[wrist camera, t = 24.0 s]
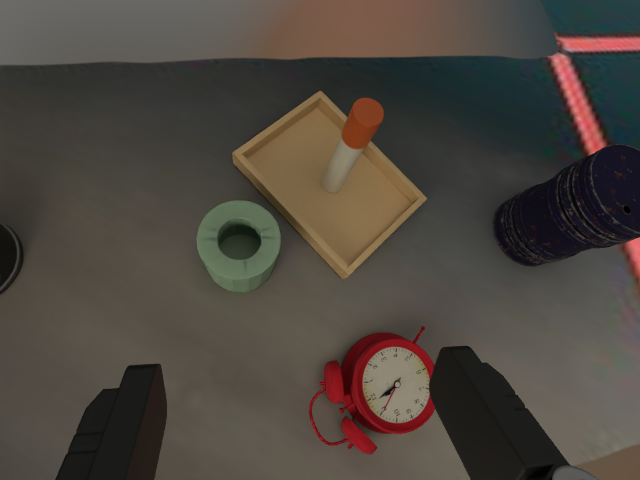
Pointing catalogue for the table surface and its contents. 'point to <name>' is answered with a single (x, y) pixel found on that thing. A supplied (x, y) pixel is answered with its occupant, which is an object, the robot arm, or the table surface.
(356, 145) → the marker
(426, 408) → the alarm clock
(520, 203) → the dark blue cylinder
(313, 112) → the tray
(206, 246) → the green cylindrical pot
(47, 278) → the table surface
